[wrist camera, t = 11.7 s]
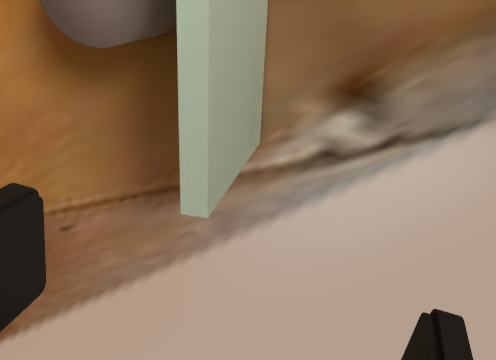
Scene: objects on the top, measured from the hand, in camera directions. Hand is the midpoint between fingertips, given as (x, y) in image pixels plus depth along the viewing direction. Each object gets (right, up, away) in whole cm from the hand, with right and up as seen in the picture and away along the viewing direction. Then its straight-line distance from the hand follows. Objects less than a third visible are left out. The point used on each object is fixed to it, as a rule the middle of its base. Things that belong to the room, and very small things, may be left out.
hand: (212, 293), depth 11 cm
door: (+1, +12, +14) cm, 19 cm away
